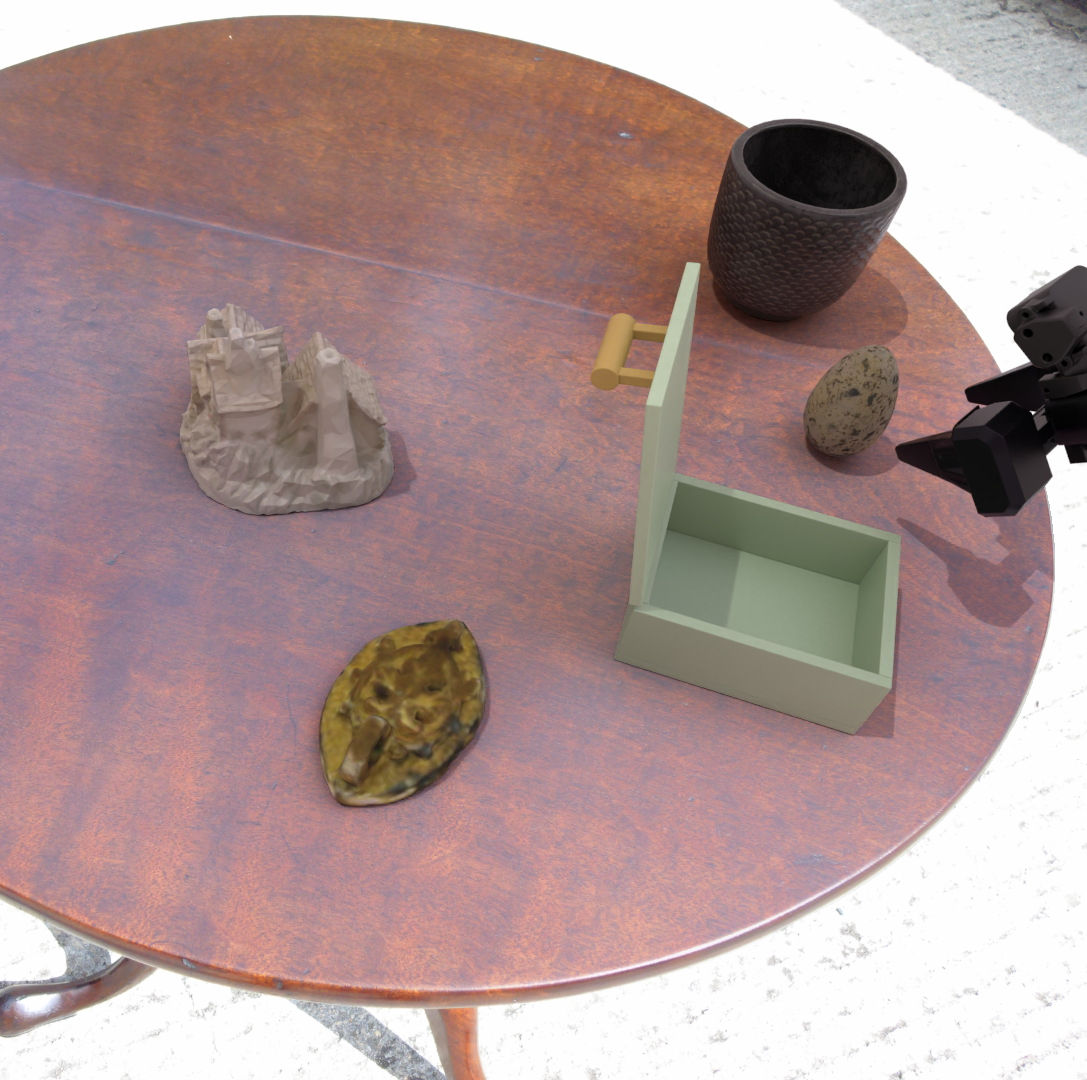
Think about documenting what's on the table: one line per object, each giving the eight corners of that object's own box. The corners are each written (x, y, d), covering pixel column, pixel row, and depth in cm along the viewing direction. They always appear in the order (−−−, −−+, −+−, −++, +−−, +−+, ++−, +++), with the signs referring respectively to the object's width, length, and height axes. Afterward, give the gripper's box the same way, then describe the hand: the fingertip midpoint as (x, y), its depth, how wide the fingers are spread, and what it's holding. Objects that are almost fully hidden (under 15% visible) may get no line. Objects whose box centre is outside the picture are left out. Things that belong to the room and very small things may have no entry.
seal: (394, 608, 74) (280, 780, 66) (391, 564, 71) (270, 739, 62) (519, 657, 71) (416, 845, 62) (522, 613, 67) (413, 806, 59)
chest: (866, 586, 75) (901, 535, 71) (853, 735, 68) (892, 689, 63) (648, 523, 78) (668, 470, 74) (613, 659, 71) (633, 609, 66)
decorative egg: (779, 421, 85) (825, 323, 78) (850, 417, 86) (903, 320, 78) (806, 476, 82) (857, 380, 74) (879, 472, 82) (938, 376, 75)
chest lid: (700, 262, 61) (623, 255, 63) (661, 406, 54) (574, 394, 55) (676, 466, 73) (612, 456, 75) (641, 606, 66) (570, 593, 67)
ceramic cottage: (396, 515, 78) (400, 349, 66) (170, 519, 78) (136, 353, 66) (390, 378, 88) (392, 215, 77) (191, 381, 88) (164, 218, 77)
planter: (879, 318, 94) (947, 189, 84) (757, 363, 90) (812, 233, 80) (774, 230, 102) (825, 102, 91) (656, 269, 97) (695, 139, 87)
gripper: (1218, 205, 64) (966, 267, 78) (1069, 332, 56) (817, 376, 70) (1264, 373, 67) (1012, 404, 81) (1127, 517, 59) (874, 524, 73)
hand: (933, 423), depth 76 cm, fingers open, 9 cm apart
